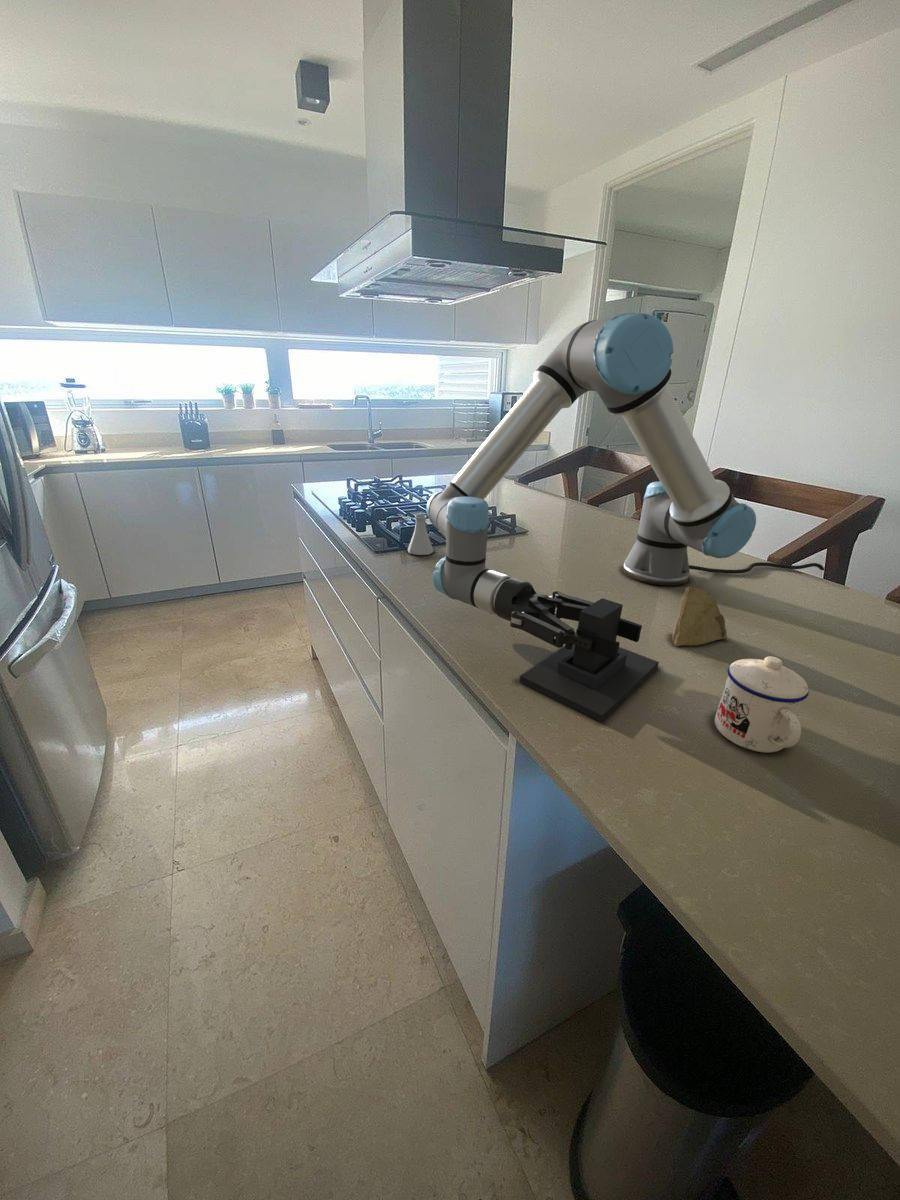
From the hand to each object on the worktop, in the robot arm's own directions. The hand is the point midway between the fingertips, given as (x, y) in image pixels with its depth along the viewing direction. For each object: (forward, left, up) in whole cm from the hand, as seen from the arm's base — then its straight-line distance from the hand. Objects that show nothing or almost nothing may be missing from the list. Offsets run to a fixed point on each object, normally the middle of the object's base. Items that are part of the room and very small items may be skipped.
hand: (628, 642), depth 72 cm
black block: (+4, -3, -6) cm, 8 cm away
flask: (+38, -61, -8) cm, 72 cm away
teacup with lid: (-15, +11, -8) cm, 20 cm away
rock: (-19, -17, -8) cm, 27 cm away
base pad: (+4, -3, -8) cm, 9 cm away
